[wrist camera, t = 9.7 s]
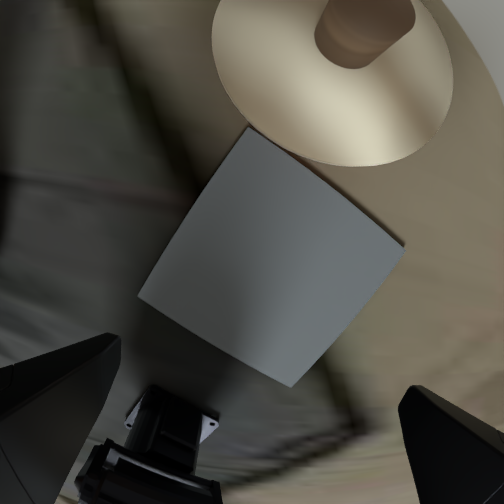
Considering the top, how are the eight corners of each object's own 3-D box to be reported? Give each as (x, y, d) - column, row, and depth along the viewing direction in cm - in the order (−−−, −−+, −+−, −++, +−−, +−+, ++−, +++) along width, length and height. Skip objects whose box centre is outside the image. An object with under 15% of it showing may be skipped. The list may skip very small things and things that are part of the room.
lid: (371, 217, 14) (424, 239, 9) (163, 74, 12) (124, 33, 7) (469, 58, 12) (523, 37, 7) (300, -64, 10) (313, -118, 5)
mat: (290, 384, 22) (290, 387, 22) (139, 294, 20) (137, 296, 20) (403, 249, 20) (405, 250, 19) (248, 127, 18) (248, 126, 17)
